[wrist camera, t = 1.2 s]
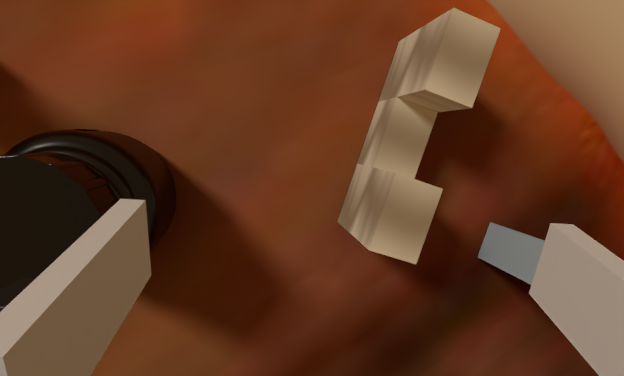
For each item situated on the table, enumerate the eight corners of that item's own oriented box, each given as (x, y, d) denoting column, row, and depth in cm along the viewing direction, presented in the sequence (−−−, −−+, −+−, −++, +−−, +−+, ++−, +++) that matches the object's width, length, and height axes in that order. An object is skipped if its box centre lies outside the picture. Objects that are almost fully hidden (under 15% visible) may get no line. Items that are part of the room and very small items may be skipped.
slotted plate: (590, 255, 35) (744, 308, 24) (578, 288, 35) (725, 355, 24) (490, 222, 33) (608, 263, 22) (477, 257, 33) (588, 314, 23)
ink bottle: (71, 103, 27) (-61, 78, 15) (199, 157, 29) (168, 172, 17) (16, 237, 28) (-153, 311, 16) (145, 283, 29) (78, 380, 18)
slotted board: (373, 232, 32) (416, 264, 24) (337, 221, 31) (368, 250, 23) (435, 56, 31) (500, 28, 23) (399, 41, 30) (453, 7, 22)
